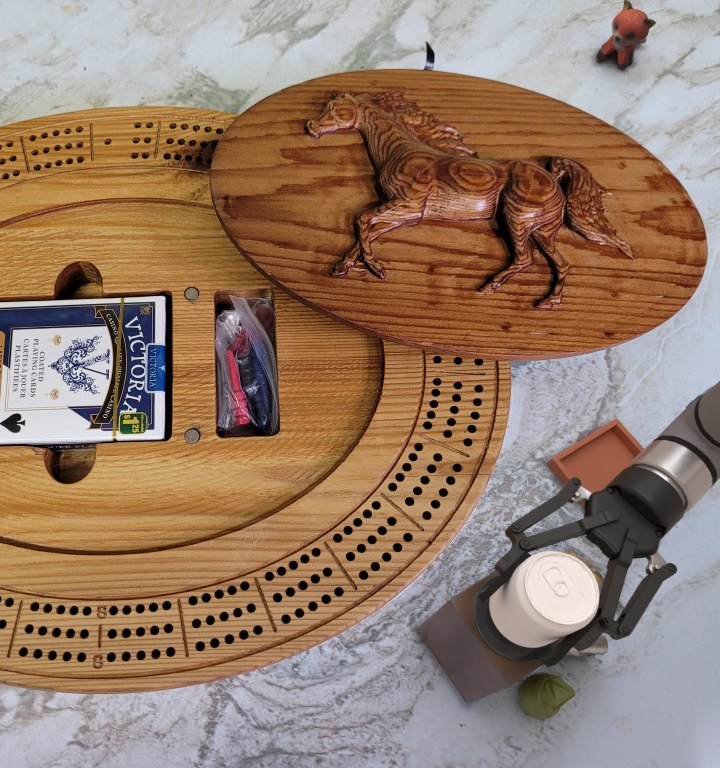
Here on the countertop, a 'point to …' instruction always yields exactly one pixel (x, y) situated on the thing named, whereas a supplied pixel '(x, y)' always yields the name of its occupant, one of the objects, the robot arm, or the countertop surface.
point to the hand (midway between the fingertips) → (515, 629)
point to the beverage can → (545, 599)
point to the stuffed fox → (626, 34)
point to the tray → (597, 457)
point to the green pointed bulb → (544, 694)
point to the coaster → (500, 641)
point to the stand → (470, 649)
